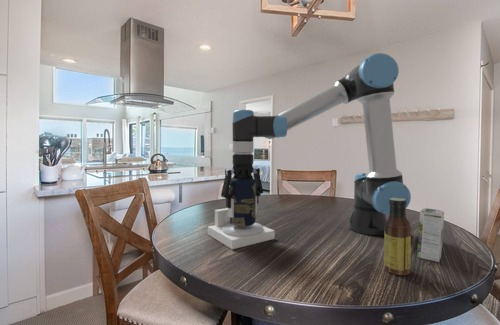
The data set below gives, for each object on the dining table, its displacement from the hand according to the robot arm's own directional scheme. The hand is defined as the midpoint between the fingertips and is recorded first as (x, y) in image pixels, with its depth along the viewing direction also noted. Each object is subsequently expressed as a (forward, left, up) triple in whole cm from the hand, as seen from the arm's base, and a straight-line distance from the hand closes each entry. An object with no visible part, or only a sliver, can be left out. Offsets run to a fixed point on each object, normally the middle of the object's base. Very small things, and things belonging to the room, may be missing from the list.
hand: (242, 214), depth 97 cm
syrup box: (-46, -38, -9) cm, 61 cm away
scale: (+2, 0, -8) cm, 9 cm away
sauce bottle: (-45, -20, -9) cm, 50 cm away
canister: (0, 0, -4) cm, 4 cm away
